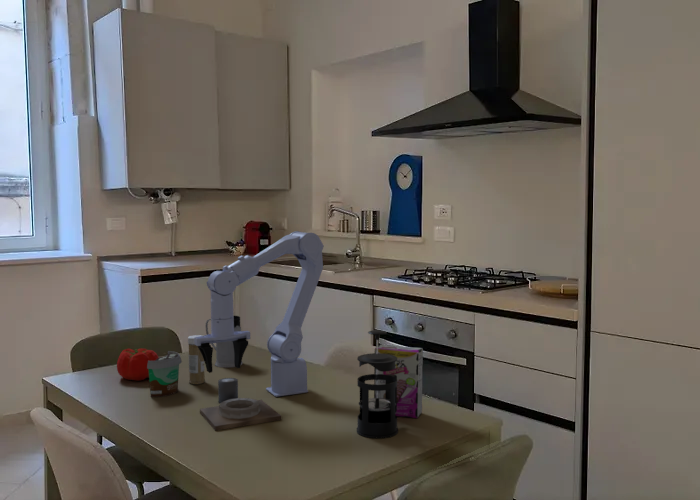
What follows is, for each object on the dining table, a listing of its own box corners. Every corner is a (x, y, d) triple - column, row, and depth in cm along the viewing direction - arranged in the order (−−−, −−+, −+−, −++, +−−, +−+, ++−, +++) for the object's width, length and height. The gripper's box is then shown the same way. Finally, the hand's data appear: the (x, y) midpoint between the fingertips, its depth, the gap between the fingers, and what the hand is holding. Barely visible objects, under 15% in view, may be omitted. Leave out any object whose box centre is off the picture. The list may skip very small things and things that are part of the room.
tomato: (170, 376, 196) (169, 347, 195) (136, 386, 185) (135, 356, 185) (141, 370, 202) (140, 343, 202) (107, 379, 192) (106, 351, 191)
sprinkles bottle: (208, 382, 189) (207, 336, 188) (194, 385, 185) (193, 338, 184) (199, 379, 192) (198, 334, 191) (185, 382, 189) (184, 336, 188)
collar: (261, 403, 169) (261, 392, 169) (281, 419, 157) (281, 407, 156) (199, 412, 162) (199, 400, 162) (215, 430, 149) (215, 417, 149)
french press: (379, 442, 142) (379, 337, 140) (346, 432, 148) (345, 331, 146) (410, 428, 151) (411, 329, 149) (377, 419, 157) (378, 324, 155)
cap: (234, 397, 175) (234, 376, 174) (240, 402, 170) (240, 381, 170) (216, 399, 172) (215, 379, 172) (221, 405, 168) (221, 383, 168)
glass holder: (229, 368, 204) (228, 320, 203) (196, 362, 212) (196, 316, 210) (248, 362, 211) (247, 316, 210) (216, 357, 219) (215, 312, 218)
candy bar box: (373, 414, 160) (373, 348, 159) (379, 408, 165) (379, 343, 164) (418, 419, 157) (418, 351, 155) (422, 413, 161) (423, 347, 160)
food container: (169, 399, 173) (168, 362, 172) (147, 398, 174) (146, 361, 173) (189, 386, 185) (189, 351, 184) (169, 385, 186) (168, 350, 185)
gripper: (242, 312, 176) (243, 362, 178) (189, 318, 169) (191, 370, 170) (253, 316, 170) (254, 367, 172) (199, 322, 163) (200, 376, 164)
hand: (223, 369), depth 170 cm, fingers open, 7 cm apart
